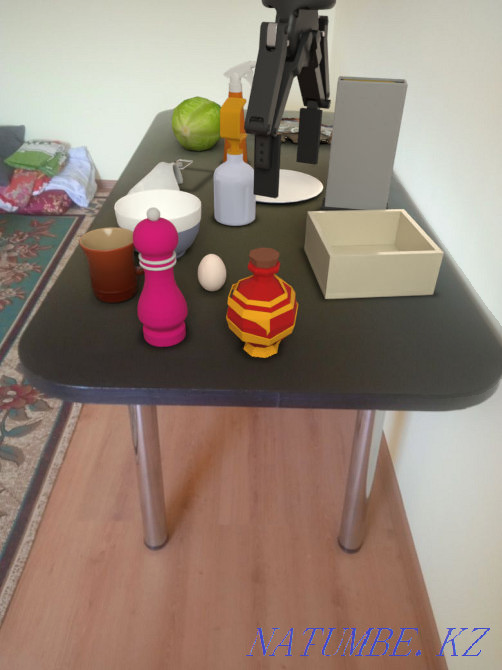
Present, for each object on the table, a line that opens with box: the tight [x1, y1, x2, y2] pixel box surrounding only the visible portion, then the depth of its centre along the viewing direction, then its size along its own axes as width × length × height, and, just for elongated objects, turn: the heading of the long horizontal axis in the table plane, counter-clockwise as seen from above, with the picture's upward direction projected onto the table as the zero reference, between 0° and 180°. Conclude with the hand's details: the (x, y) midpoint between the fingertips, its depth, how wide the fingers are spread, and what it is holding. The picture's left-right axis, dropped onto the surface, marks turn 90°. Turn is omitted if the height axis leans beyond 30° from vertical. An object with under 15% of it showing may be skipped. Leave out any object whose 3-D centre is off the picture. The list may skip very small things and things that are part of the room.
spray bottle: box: [222, 60, 256, 164], centre depth 140 cm, size 7×11×26 cm, turn 72°
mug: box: [78, 226, 145, 304], centre depth 85 cm, size 12×9×10 cm
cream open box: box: [303, 208, 445, 300], centre depth 93 cm, size 19×19×8 cm
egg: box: [197, 253, 227, 292], centre depth 87 cm, size 5×5×7 cm
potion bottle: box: [225, 247, 299, 359], centre depth 71 cm, size 10×10×15 cm
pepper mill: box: [133, 208, 189, 348], centre depth 72 cm, size 7×7×20 cm
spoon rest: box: [126, 161, 184, 195], centre depth 120 cm, size 24×12×7 cm, turn 173°
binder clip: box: [173, 158, 194, 175], centre depth 135 cm, size 6×4×6 cm, turn 162°
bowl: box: [113, 189, 202, 260], centre depth 98 cm, size 16×16×10 cm
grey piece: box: [277, 117, 333, 145], centre depth 169 cm, size 30×22×5 cm
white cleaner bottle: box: [213, 97, 257, 227], centre depth 108 cm, size 9×9×25 cm
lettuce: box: [171, 95, 222, 152], centre depth 155 cm, size 15×23×16 cm
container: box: [320, 75, 409, 211], centre depth 109 cm, size 7×18×30 cm, turn 80°
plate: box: [256, 168, 324, 205], centre depth 131 cm, size 25×25×1 cm
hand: (288, 178), depth 62 cm, fingers open, 13 cm apart
